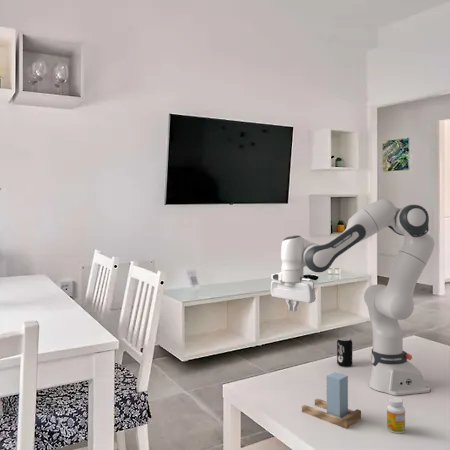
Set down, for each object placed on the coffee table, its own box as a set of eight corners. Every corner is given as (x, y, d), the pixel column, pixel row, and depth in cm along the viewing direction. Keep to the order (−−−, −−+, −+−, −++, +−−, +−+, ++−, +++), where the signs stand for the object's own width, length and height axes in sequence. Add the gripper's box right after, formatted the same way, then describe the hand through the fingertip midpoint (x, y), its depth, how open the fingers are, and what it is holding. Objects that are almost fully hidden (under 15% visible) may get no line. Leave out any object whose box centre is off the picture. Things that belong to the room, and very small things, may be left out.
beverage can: (352, 367, 205) (352, 340, 204) (337, 367, 206) (337, 340, 206) (351, 362, 211) (351, 336, 211) (336, 362, 213) (336, 335, 212)
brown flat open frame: (301, 411, 163) (301, 403, 162) (317, 403, 169) (317, 395, 169) (346, 428, 150) (346, 419, 150) (361, 419, 156) (361, 410, 156)
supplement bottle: (384, 426, 151) (384, 396, 151) (400, 425, 152) (400, 395, 151) (391, 434, 146) (391, 403, 145) (408, 433, 146) (408, 402, 146)
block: (326, 417, 158) (326, 375, 157) (335, 412, 161) (334, 372, 160) (339, 421, 154) (339, 379, 153) (347, 416, 158) (347, 375, 157)
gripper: (318, 278, 182) (318, 313, 183) (277, 273, 197) (278, 305, 197) (308, 280, 178) (309, 316, 178) (267, 274, 192) (268, 308, 193)
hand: (292, 310), depth 188 cm, fingers closed
